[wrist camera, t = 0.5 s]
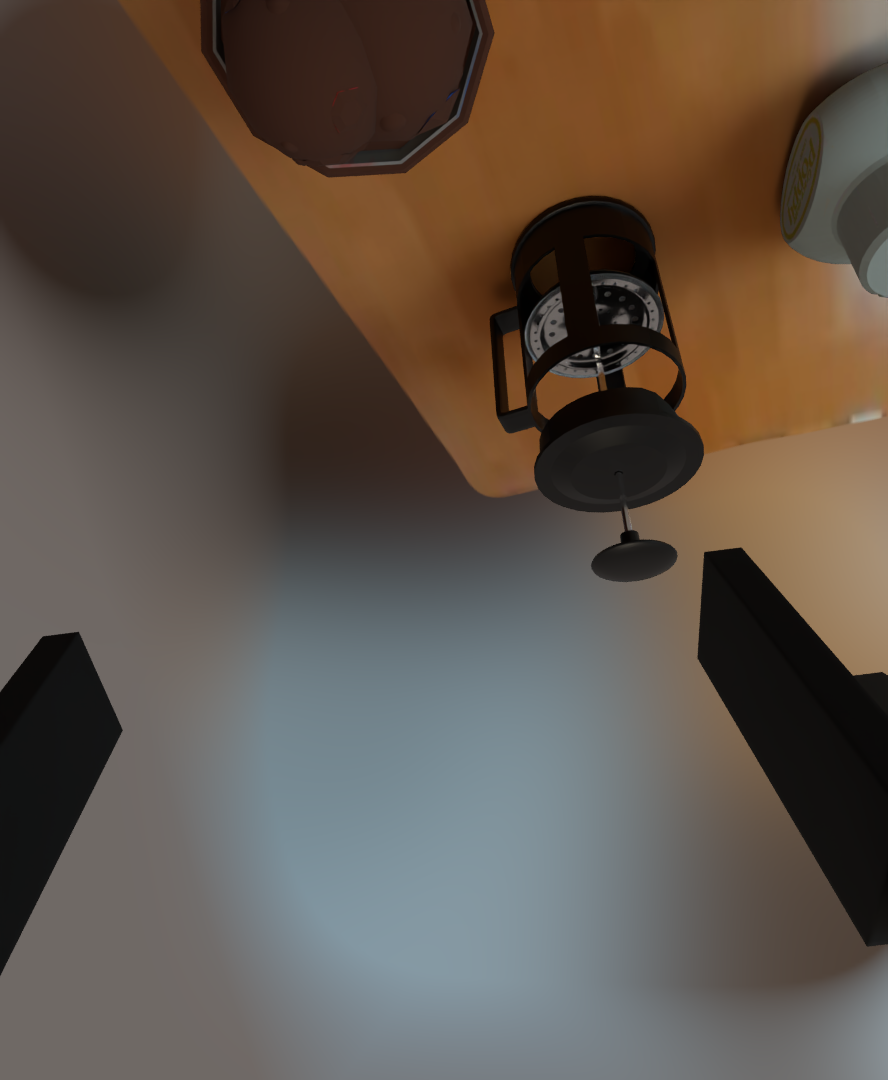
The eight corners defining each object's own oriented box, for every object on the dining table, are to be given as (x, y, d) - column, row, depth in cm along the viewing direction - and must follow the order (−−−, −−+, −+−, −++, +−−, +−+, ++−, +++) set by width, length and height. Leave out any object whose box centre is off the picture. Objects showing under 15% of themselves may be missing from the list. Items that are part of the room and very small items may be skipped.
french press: (650, 165, 41) (741, 494, 30) (675, 285, 49) (756, 585, 37) (464, 240, 45) (480, 555, 34) (513, 339, 53) (540, 625, 41)
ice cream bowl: (315, 101, 38) (290, 295, 30) (176, -167, 29) (90, 15, 21) (506, 18, 34) (532, 212, 27) (419, -311, 25) (421, -160, 18)
